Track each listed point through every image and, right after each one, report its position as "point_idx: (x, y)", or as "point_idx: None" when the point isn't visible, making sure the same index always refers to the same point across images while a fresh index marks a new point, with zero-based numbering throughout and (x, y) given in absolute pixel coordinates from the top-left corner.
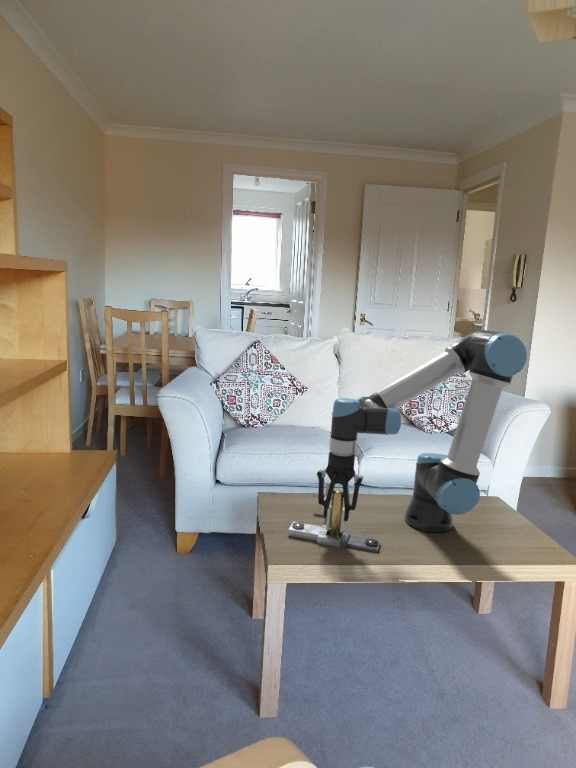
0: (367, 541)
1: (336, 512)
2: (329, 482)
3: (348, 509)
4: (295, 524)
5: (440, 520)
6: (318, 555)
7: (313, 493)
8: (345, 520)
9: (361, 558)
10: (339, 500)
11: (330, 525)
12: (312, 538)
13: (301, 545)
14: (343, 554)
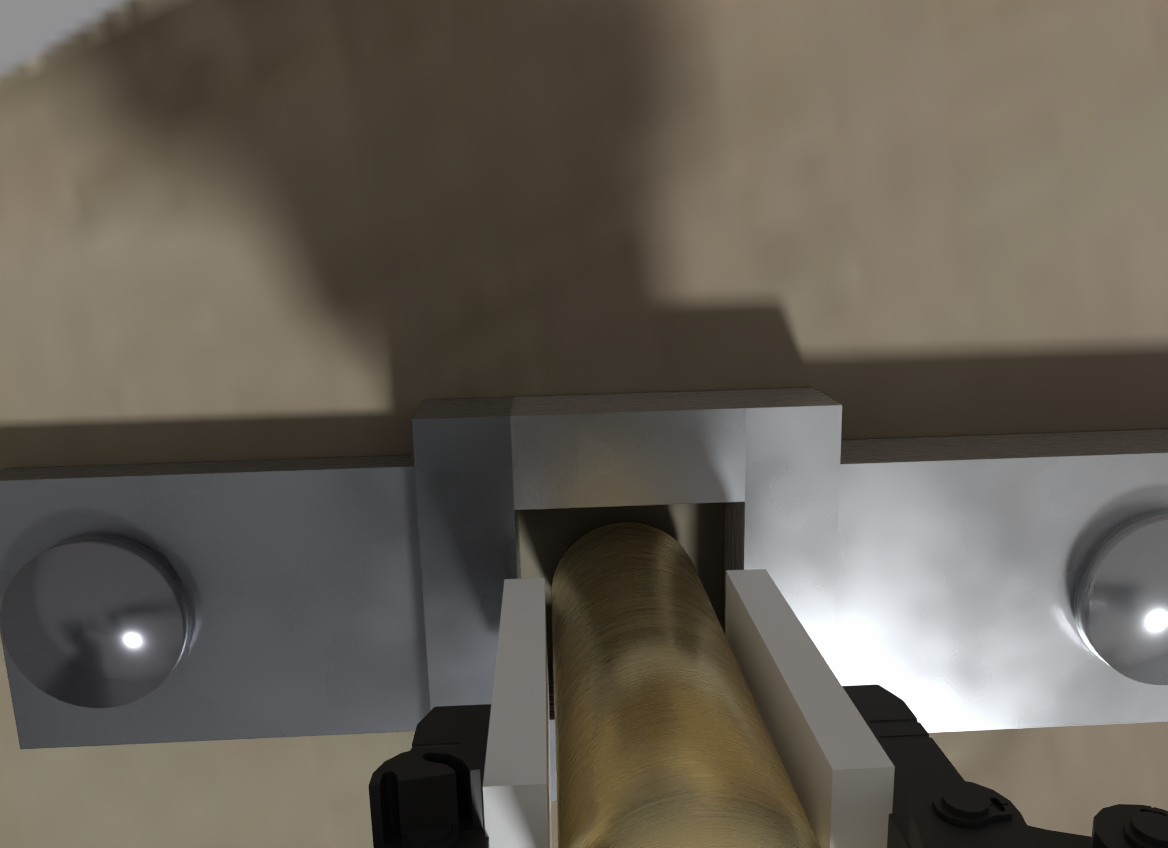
0: (147, 598)
1: (665, 734)
2: None
3: (380, 837)
4: None
5: None
6: (729, 37)
7: None
8: (466, 709)
9: (165, 207)
10: None
11: (715, 620)
12: (893, 444)
13: (996, 230)
14: (417, 216)
